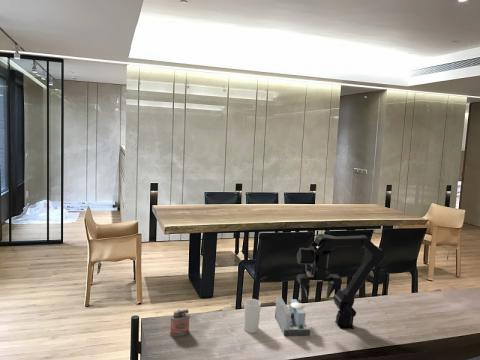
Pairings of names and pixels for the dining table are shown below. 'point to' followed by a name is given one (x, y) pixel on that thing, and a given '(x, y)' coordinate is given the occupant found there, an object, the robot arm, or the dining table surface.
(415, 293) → the dining table surface
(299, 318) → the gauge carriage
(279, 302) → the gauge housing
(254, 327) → the mug
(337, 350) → the dining table surface
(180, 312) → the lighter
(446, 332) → the dining table surface
